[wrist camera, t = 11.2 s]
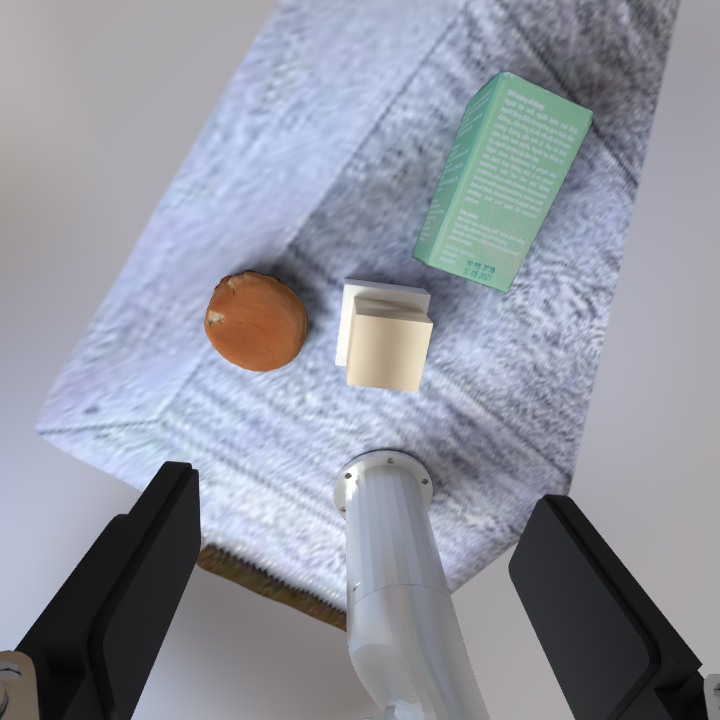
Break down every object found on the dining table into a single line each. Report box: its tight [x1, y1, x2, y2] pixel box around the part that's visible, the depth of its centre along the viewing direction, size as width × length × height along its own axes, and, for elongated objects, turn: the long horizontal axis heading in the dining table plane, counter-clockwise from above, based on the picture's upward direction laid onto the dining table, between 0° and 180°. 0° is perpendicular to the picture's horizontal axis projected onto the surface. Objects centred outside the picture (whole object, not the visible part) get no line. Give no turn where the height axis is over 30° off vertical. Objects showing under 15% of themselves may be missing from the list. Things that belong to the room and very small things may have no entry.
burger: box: [204, 270, 307, 372], centre depth 33 cm, size 10×9×5 cm
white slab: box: [335, 278, 431, 366], centre depth 35 cm, size 8×8×3 cm
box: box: [412, 71, 593, 293], centre depth 29 cm, size 7×14×8 cm, turn 162°
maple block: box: [346, 297, 433, 392], centre depth 31 cm, size 6×6×6 cm
